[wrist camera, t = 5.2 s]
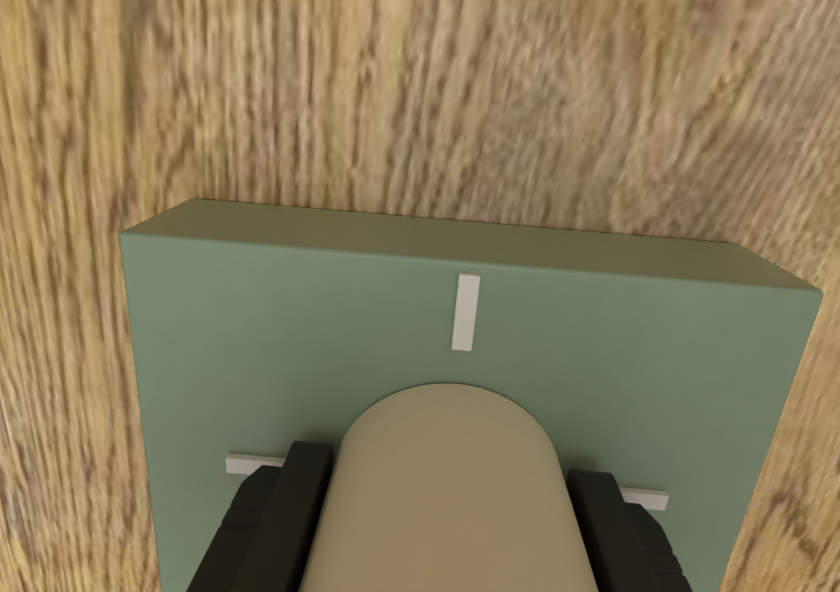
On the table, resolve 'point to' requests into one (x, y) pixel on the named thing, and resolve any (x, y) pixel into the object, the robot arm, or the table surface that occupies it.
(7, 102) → the table surface
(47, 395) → the table surface
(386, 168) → the table surface
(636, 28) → the table surface
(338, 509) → the dial knob
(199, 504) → the dial panel
